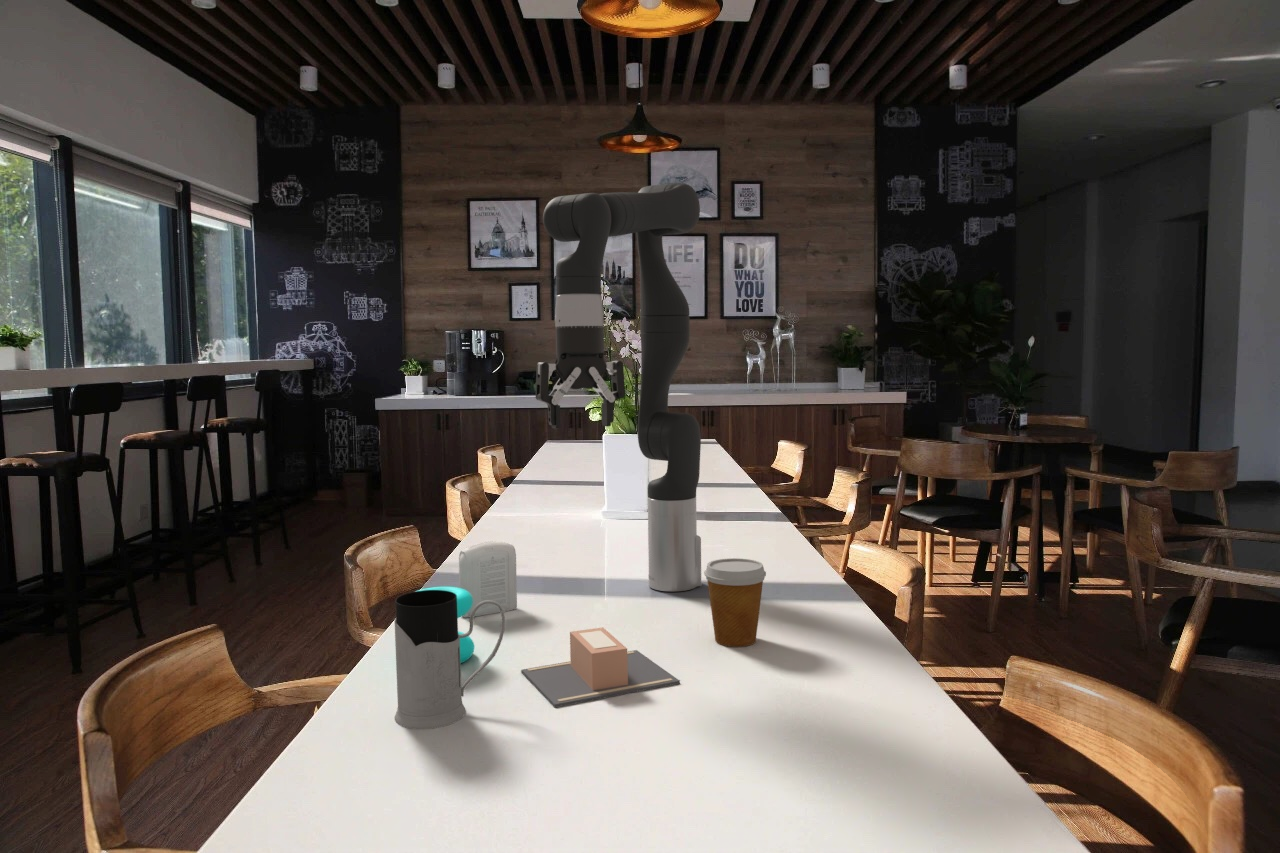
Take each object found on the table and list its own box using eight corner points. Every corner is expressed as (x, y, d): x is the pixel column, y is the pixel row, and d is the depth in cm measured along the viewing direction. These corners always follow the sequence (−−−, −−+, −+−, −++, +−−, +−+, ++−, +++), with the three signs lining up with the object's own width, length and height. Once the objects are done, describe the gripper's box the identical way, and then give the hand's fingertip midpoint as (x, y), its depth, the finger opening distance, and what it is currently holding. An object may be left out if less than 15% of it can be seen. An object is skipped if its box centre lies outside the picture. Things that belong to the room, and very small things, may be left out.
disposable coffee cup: (771, 633, 144) (771, 559, 143) (759, 653, 135) (759, 574, 134) (713, 628, 147) (712, 555, 146) (697, 647, 138) (696, 570, 137)
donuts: (428, 582, 140) (484, 587, 137) (430, 645, 141) (487, 651, 138) (389, 599, 131) (448, 605, 127) (391, 666, 132) (451, 674, 128)
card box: (627, 684, 122) (627, 647, 122) (592, 690, 120) (591, 652, 120) (603, 661, 131) (603, 626, 131) (570, 665, 130) (569, 631, 129)
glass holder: (390, 707, 117) (385, 593, 115) (499, 690, 122) (496, 581, 121) (399, 733, 109) (394, 611, 107) (515, 714, 114) (511, 597, 113)
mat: (636, 652, 136) (636, 649, 136) (679, 683, 123) (679, 679, 123) (521, 672, 128) (521, 669, 128) (554, 707, 116) (554, 703, 116)
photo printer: (510, 604, 163) (508, 536, 162) (521, 609, 159) (519, 540, 158) (456, 614, 157) (454, 544, 156) (466, 620, 154) (463, 548, 152)
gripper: (544, 323, 136) (546, 431, 137) (630, 323, 142) (632, 426, 143) (528, 325, 143) (531, 428, 144) (611, 324, 149) (613, 423, 150)
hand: (581, 427), depth 144 cm, fingers open, 8 cm apart
